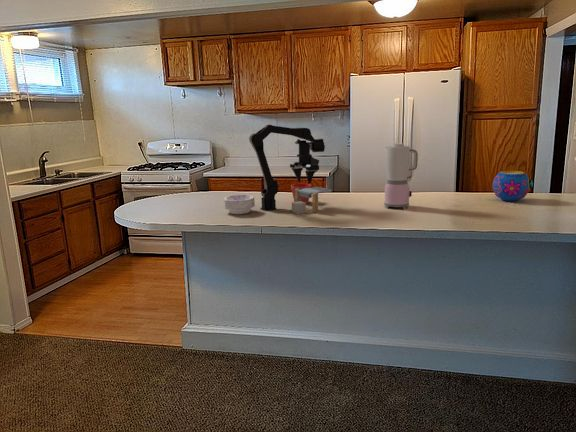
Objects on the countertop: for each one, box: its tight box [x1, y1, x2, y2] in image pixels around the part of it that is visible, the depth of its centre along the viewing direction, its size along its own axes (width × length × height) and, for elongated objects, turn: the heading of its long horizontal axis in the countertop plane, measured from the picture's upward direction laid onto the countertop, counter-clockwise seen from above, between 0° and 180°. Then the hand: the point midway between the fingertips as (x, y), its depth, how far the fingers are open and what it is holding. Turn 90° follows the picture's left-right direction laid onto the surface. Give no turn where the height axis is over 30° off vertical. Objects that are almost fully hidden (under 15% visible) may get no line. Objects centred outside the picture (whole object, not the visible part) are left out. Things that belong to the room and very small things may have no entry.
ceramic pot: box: [492, 170, 534, 202], centre depth 231 cm, size 18×18×15 cm
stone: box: [291, 201, 307, 215], centre depth 219 cm, size 5×5×5 cm
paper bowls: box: [223, 194, 256, 215], centre depth 222 cm, size 15×15×8 cm
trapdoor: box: [298, 186, 333, 199], centre depth 224 cm, size 13×12×3 cm
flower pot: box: [290, 183, 312, 204], centre depth 242 cm, size 11×11×10 cm
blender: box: [383, 142, 419, 210], centre depth 221 cm, size 16×12×32 cm
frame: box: [295, 188, 319, 214], centre depth 223 cm, size 2×17×10 cm, turn 34°
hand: (304, 182), depth 231 cm, fingers open, 9 cm apart
